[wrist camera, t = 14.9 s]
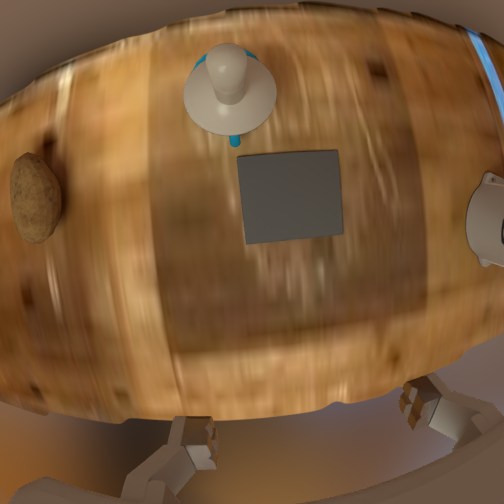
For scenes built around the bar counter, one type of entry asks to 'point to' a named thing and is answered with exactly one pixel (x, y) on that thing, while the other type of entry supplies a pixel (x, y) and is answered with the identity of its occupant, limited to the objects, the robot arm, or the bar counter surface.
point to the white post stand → (229, 92)
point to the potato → (34, 198)
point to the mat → (290, 196)
